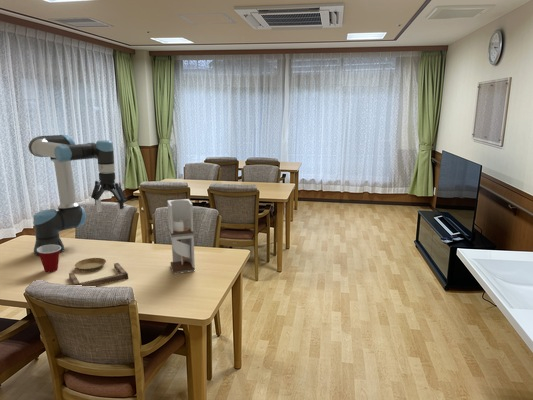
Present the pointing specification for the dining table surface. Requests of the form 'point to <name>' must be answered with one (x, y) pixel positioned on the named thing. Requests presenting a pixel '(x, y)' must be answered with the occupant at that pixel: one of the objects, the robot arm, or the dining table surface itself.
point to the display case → (181, 235)
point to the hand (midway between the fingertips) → (109, 213)
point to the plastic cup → (49, 257)
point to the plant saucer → (90, 264)
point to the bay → (101, 281)
